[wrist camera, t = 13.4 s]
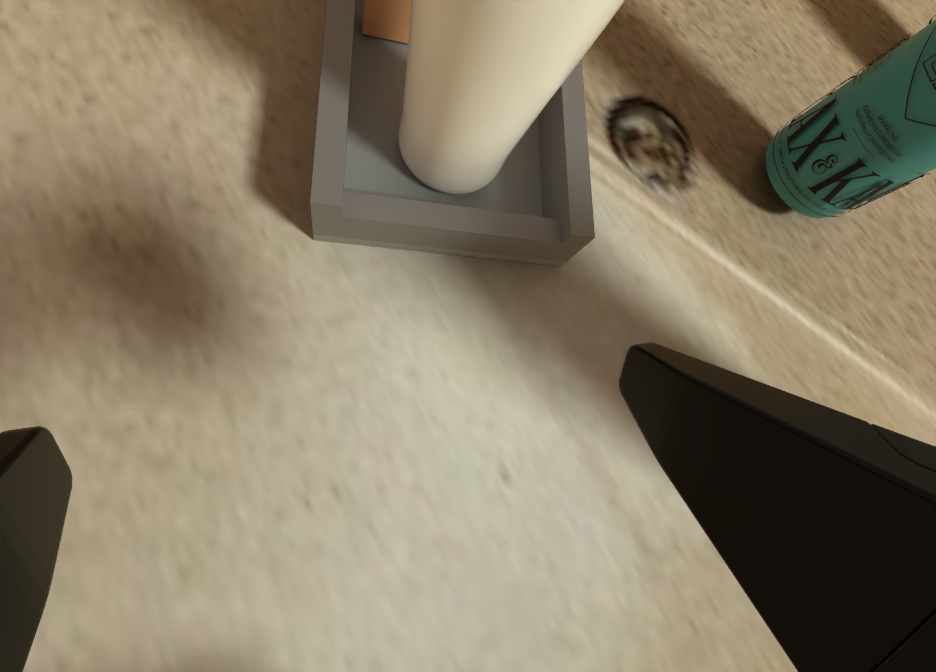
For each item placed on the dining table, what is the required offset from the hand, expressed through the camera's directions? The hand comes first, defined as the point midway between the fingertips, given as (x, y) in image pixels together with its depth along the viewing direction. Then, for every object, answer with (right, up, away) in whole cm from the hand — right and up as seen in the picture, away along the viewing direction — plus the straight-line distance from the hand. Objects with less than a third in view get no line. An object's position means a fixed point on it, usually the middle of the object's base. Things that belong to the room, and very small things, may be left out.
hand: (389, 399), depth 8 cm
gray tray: (0, +14, +18) cm, 23 cm away
